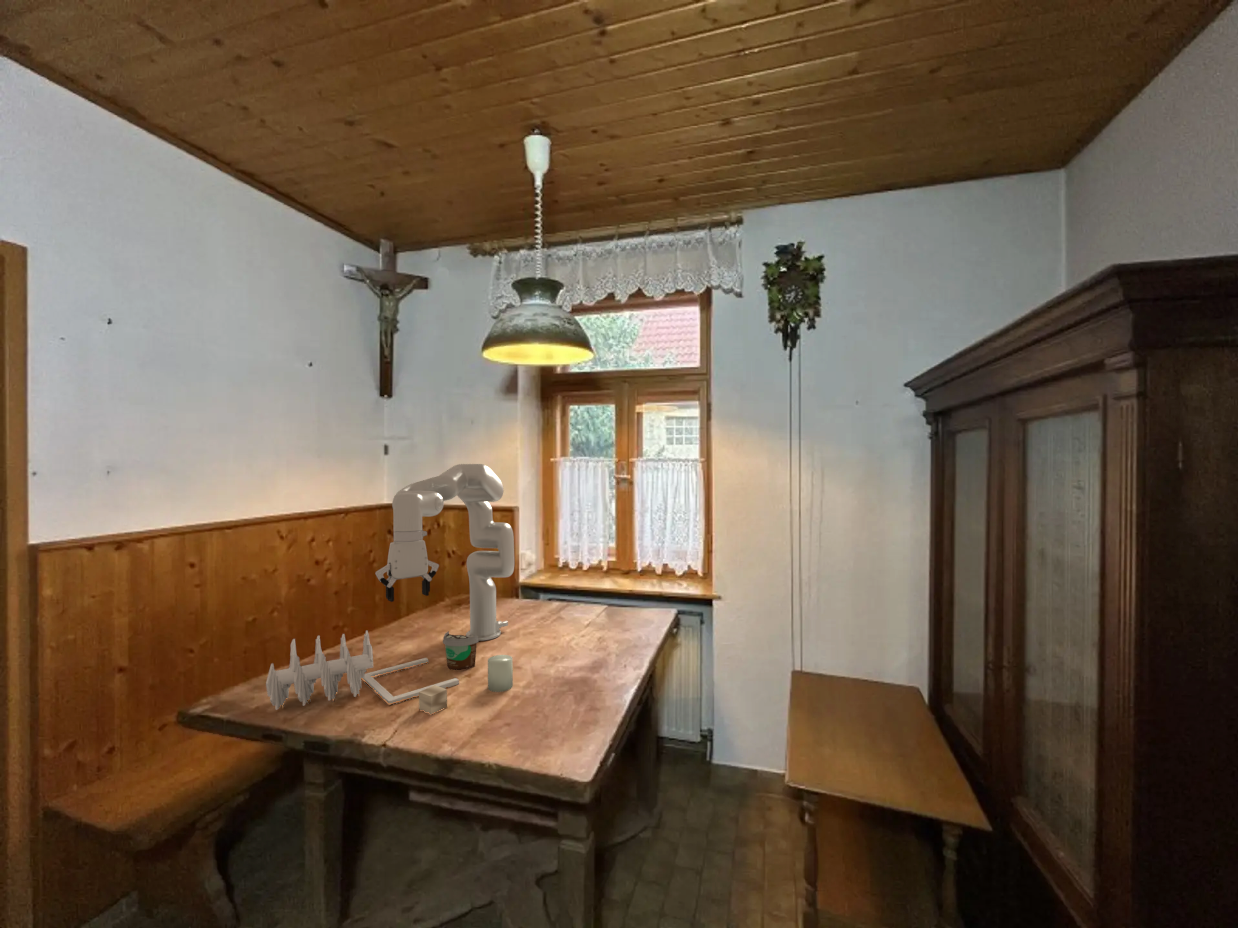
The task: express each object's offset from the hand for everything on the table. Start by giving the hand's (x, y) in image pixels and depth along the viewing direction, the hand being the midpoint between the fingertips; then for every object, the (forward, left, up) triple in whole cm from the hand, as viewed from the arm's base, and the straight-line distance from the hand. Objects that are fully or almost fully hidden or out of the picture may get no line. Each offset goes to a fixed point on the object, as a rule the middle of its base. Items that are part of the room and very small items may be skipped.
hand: (408, 597), depth 149 cm
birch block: (-1, +13, -27) cm, 30 cm away
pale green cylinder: (-21, +13, -27) cm, 37 cm away
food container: (-18, -9, -28) cm, 34 cm away
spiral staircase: (+19, -13, -28) cm, 36 cm away
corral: (-4, -9, -27) cm, 29 cm away
